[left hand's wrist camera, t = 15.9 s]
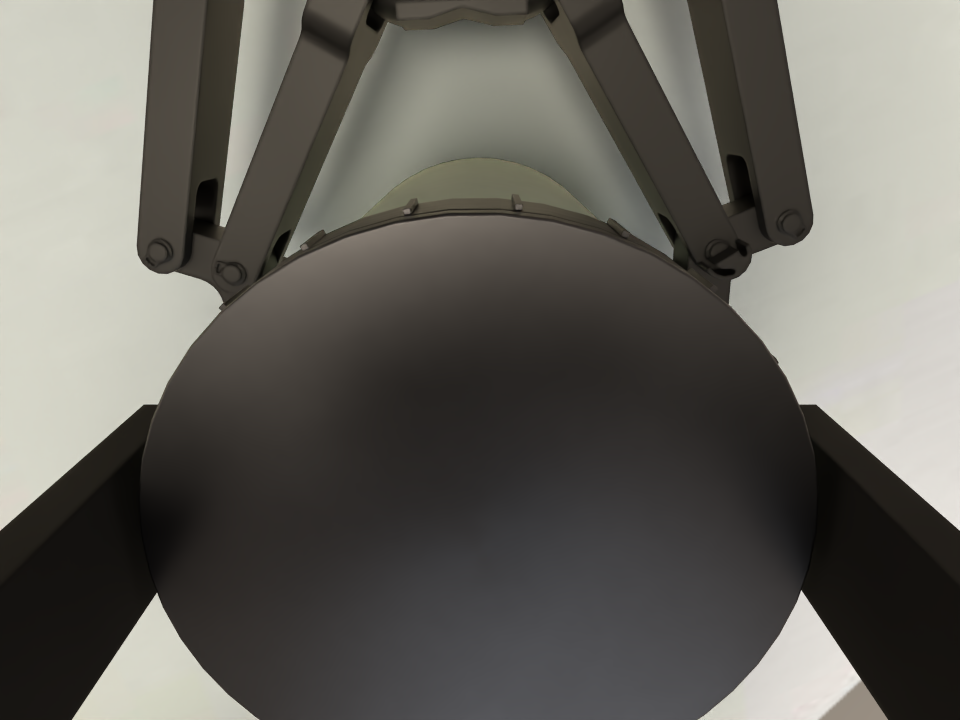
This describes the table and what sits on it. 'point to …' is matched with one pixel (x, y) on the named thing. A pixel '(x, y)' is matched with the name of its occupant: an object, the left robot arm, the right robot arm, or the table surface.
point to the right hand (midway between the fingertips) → (485, 476)
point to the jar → (479, 185)
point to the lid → (478, 477)
